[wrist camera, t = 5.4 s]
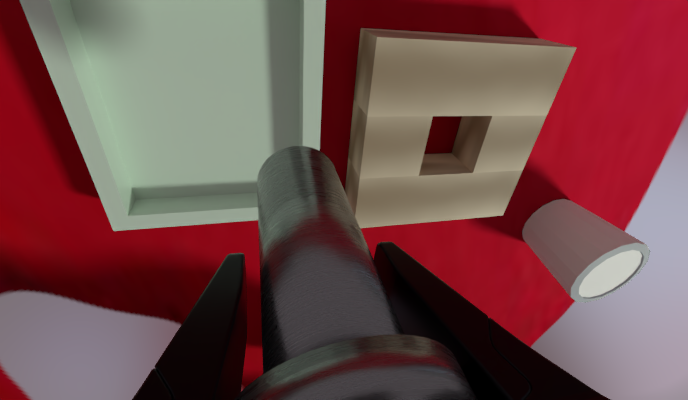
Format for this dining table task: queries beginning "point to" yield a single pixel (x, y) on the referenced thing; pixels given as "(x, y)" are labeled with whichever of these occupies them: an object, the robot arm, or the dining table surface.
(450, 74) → the hole block
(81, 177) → the dining table surface
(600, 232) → the cup
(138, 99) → the tray
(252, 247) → the dining table surface
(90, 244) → the dining table surface
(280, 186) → the pin
